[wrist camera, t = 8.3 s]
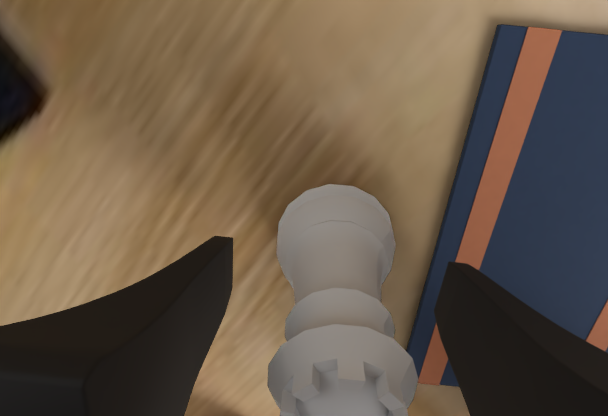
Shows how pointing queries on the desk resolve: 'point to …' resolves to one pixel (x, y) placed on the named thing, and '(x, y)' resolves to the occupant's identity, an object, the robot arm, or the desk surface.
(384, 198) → the desk surface
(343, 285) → the rook chess piece
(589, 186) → the cloth
